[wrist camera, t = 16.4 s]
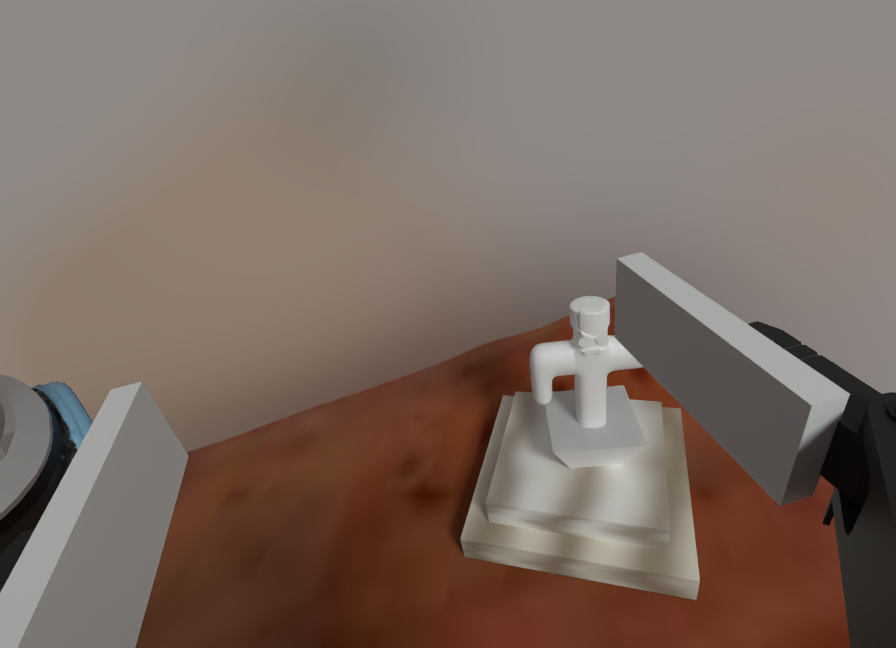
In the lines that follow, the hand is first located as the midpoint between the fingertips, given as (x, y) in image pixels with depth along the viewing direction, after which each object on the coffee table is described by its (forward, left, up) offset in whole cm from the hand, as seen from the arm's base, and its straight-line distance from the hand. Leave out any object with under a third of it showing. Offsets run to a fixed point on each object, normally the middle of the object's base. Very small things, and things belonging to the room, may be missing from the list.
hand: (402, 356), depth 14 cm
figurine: (+4, +22, -27) cm, 35 cm away
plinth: (+3, +22, -32) cm, 39 cm away
